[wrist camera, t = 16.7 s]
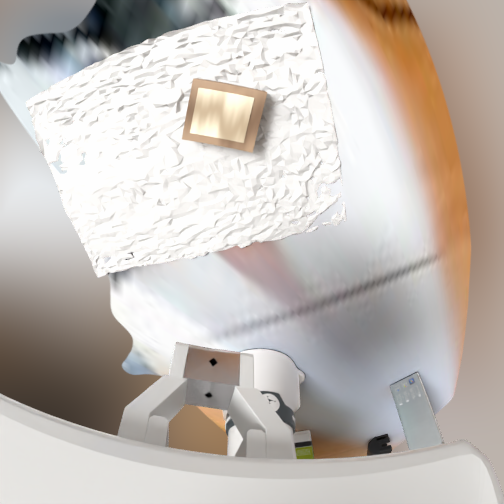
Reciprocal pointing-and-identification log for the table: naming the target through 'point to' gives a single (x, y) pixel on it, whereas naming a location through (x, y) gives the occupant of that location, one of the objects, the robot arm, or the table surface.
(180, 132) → the carpet tile
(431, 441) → the hard drive box
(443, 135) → the table surface
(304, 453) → the tea box
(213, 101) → the brown rectangular block
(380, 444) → the end cap
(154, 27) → the table surface
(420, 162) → the table surface
